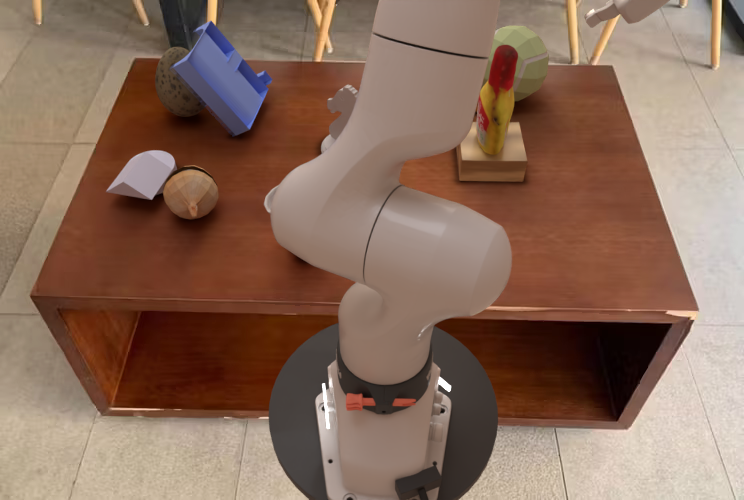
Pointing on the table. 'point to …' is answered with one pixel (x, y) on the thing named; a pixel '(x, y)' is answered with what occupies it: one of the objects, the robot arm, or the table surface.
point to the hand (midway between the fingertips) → (581, 7)
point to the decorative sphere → (522, 59)
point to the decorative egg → (176, 86)
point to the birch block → (492, 158)
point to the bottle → (497, 101)
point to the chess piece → (345, 105)
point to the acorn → (190, 192)
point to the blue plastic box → (223, 79)
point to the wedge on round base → (144, 175)
